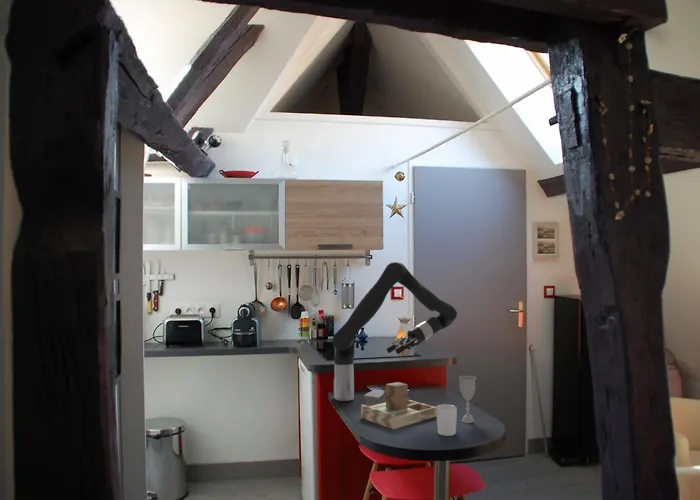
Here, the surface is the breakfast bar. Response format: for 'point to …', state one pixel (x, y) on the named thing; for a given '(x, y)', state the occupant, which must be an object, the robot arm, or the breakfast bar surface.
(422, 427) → the breakfast bar surface
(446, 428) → the white cup
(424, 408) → the box
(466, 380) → the chalice
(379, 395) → the decorative stone
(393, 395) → the walnut block
